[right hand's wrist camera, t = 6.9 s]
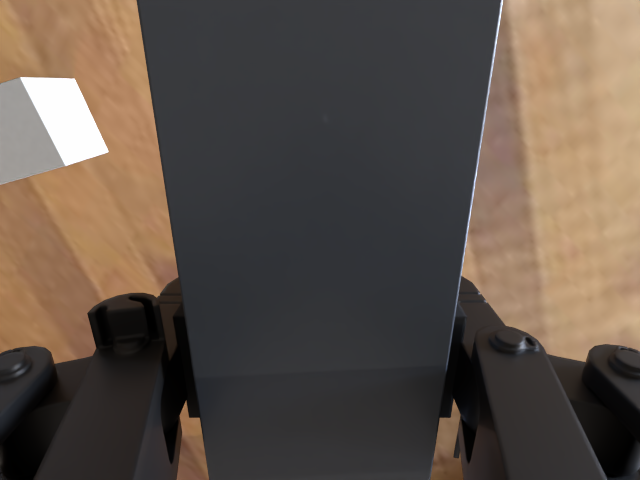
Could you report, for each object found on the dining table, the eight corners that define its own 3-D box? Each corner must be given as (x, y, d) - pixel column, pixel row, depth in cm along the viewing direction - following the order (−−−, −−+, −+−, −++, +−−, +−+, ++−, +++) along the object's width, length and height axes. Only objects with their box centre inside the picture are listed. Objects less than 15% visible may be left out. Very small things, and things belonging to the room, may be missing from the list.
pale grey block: (74, 78, 26) (20, 76, 21) (109, 152, 27) (66, 165, 23) (7, 99, 26) (-60, 102, 21) (45, 170, 28) (-9, 187, 23)
